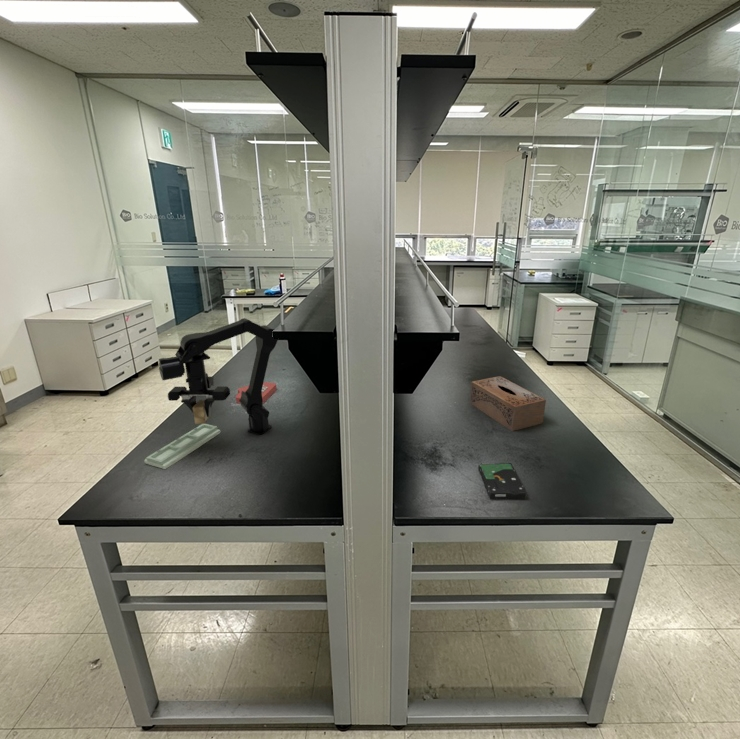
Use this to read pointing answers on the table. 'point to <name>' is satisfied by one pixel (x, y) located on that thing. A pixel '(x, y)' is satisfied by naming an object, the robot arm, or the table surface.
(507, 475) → the disk drive
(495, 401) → the tissue box cover
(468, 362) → the table surface
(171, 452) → the rail board
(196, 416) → the tan rectangular box
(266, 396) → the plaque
